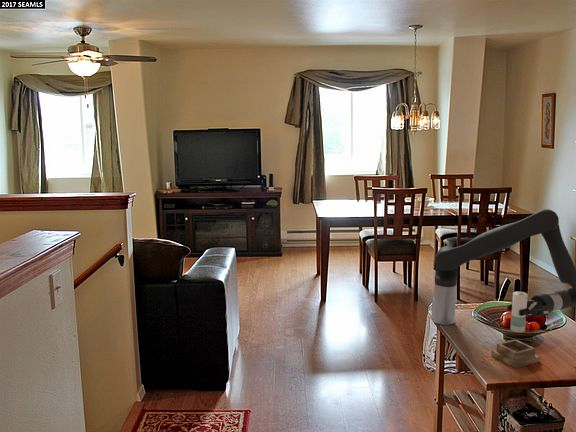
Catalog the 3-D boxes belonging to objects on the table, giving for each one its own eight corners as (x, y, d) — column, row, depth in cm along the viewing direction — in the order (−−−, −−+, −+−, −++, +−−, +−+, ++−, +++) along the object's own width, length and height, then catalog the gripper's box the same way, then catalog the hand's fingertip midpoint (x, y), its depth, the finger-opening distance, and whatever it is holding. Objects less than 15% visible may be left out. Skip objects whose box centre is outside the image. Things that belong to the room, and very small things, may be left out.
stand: (491, 355, 222) (492, 343, 221) (514, 349, 227) (515, 337, 226) (515, 368, 211) (516, 355, 210) (539, 361, 216) (540, 349, 215)
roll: (507, 328, 218) (509, 292, 215) (517, 326, 220) (519, 290, 217) (518, 333, 213) (520, 296, 210) (528, 330, 215) (530, 294, 213)
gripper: (532, 288, 227) (499, 295, 219) (563, 299, 214) (530, 307, 207) (530, 306, 228) (498, 313, 221) (561, 318, 216) (528, 327, 208)
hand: (514, 310), depth 214 cm, fingers closed on roll, 5 cm apart
